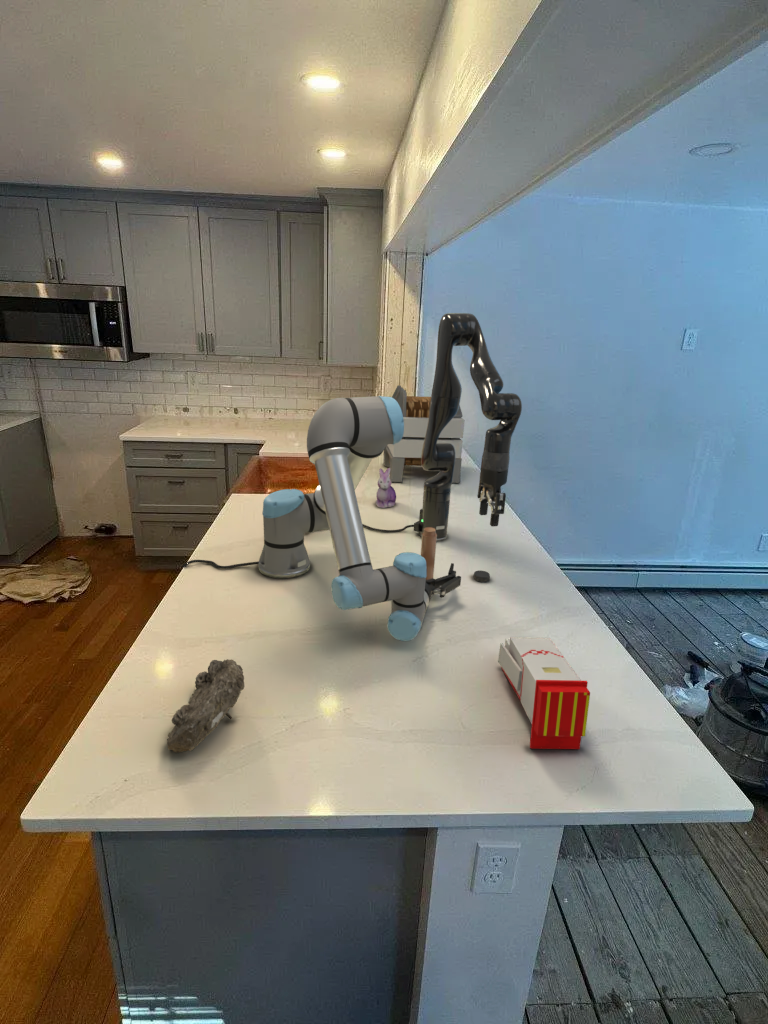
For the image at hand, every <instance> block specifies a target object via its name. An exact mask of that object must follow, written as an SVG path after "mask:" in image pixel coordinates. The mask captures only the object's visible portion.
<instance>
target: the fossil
mask: <svg viewBox="0 0 768 1024" xmlns="http://www.w3.org/2000/svg"><path fill="white" fill-rule="evenodd" d="M243 670H244V669H243V667H242V665H240V664H237V662H236V661H235V660H234V659H232V658H231V659H227V658H226V659H224V660H223V661H222V660H217V659H212V660H211V661H210V663H209V665H208V666H207V671H201V672H199V673H198V674H197V675H196V676H195V680H194V684H195V685H194V687H195V689H194V690H193V693H192V694H191V697H190V698H189V700H188V704H184V705H182V706H181V707H180V709H177V710H176V711H175V713H174V715H173V716H172V718H171V723H172V724H173V727H172V730H171V731H170V732H168V734H167V738H166V741H167V742H166V745H167V749H168V750H169V751H173V752H174V753H176V754H178V753H182V752H188V751H189V752H192V751H193V750H195V748H196V747H197V746H199V744H200V743H201V742H203V741H204V740H205V739H206V738H207V737H208V736H209V735H210V734H211V733H212V732H214V730H215V729H217V727H218V726H219V724H220V722H221V721H222V720H223V719H224V718H225V716H226V717H227V719H229V720H233V717H232V715H230V714H229V710H230V709H231V708H234V706H235V704H236V703H237V702H238V699H239V697H240V695H241V693H242V691H243V690H245V689H244V688H245V675H244V671H243Z"/></svg>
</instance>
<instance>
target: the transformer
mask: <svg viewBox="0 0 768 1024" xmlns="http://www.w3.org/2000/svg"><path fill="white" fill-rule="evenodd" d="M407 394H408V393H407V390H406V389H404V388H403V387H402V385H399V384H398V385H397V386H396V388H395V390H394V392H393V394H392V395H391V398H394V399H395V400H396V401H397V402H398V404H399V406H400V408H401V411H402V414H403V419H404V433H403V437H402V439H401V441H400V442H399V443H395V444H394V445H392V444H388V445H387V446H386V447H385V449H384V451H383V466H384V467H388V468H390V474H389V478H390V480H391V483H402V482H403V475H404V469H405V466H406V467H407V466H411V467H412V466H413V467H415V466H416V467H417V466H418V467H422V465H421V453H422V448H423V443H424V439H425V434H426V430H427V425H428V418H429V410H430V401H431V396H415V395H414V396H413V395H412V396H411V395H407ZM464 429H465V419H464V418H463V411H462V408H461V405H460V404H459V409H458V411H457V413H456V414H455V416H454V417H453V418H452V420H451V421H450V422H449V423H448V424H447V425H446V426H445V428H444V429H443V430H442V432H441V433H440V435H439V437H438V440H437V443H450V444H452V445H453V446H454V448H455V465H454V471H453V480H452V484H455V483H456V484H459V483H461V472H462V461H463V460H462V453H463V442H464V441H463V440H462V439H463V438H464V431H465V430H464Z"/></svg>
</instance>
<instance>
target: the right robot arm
mask: <svg viewBox="0 0 768 1024" xmlns="http://www.w3.org/2000/svg"><path fill="white" fill-rule="evenodd" d="M465 346H468V348H469V349H470V351H471V352H472V356H471V361H470V364H469V373H470V377H471V380H472V382H473V384H474V385H475V387H476V389H477V391H478V395H479V400H480V408H481V412H482V415H483V416H484V417H485V418H486V419H488V421H489V420H490V421H499V422H498V424H497V425H495V426H493V427H490V428H488V429H487V430H486V431H485V434H484V444H483V451H482V456H481V464H480V472H479V482H478V489H477V499H479V503H480V504H479V511H478V513H479V516H487V515H488V510H489V509H488V508H489V507H490V520H489V525H490V526H491V527H498V526H499V521H500V515H504V514H505V509H506V507H505V506H506V497H507V493H506V492H502V486H504V485H506V484H507V482H508V476H509V466H510V460H511V458H510V452H511V446H512V445H511V444H512V438H513V435H514V432H515V430H516V427H517V425H518V423H519V420H520V417H521V414H522V410H523V403H522V399H521V397H520V396H519V395H518V394H517V393H514V392H502V390H503V389H504V380H503V378H502V376H501V374H500V373H499V371H498V369H497V367H496V366H495V364H494V362H493V359H492V357H491V354H490V351H489V349H488V345H487V342H486V338H485V336H484V333H483V330H482V327H481V324H480V322H479V319H478V318H477V317H476V315H474V314H473V313H468V312H447V313H445V314H443V315H442V316H441V318H440V321H439V323H438V330H437V344H436V358H435V359H436V360H435V370H434V376H433V383H432V388H431V394H430V395H431V396H430V397H431V401H430V410H429V418H428V425H427V430H426V434H425V439H424V443H423V448H422V453H421V465H422V466H421V467H422V469H423V470H424V471H427V472H438V473H436V474H435V475H433V476H431V477H428V478H427V479H425V480H424V482H423V493H422V496H423V497H422V506H421V508H420V509H419V516H418V520H417V521H415V522H413V524H408V525H405V526H404V527H402V528H399V529H381V528H376V527H372V526H369V525H366V524H364V523H362V525H363V528H365V529H368V530H370V531H375V532H381V533H399V532H404V531H405V530H406V529H409V528H413V532H416V533H417V535H418V536H420V538H422V533H423V532H424V528H426V527H431V528H435V529H436V534H437V541H436V542H440V541H444V540H446V539H447V538H448V525H449V517H450V516H449V514H450V504H451V494H452V493H451V491H452V484H453V483H452V480H453V471H454V465H455V448H454V446H453V445H452V444H450V443H437V440H438V437H439V435H440V433H441V432H442V430H443V429H444V428H445V426H446V425H447V424H448V423H449V422H450V421H451V420H452V418H453V417H454V416H455V414H456V413H457V411H458V409H459V405H460V403H461V399H462V392H463V391H462V390H463V389H462V388H463V387H462V384H461V381H460V379H459V376H458V375H457V372H456V370H455V368H454V364H453V349H454V347H465ZM501 392H502V393H501Z"/></svg>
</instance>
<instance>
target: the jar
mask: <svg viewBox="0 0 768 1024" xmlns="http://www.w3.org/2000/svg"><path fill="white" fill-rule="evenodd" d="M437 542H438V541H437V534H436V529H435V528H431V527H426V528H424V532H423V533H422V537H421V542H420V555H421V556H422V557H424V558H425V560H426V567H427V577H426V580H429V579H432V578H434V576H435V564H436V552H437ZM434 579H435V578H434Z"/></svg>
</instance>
